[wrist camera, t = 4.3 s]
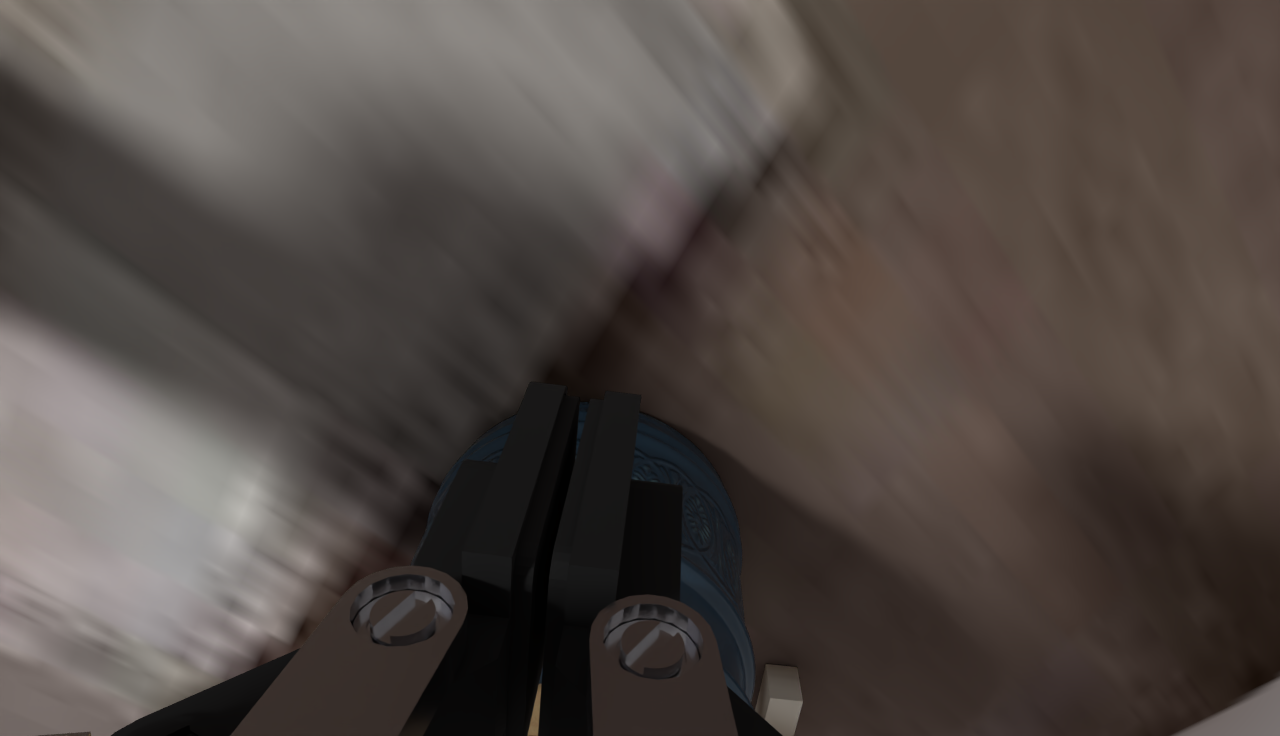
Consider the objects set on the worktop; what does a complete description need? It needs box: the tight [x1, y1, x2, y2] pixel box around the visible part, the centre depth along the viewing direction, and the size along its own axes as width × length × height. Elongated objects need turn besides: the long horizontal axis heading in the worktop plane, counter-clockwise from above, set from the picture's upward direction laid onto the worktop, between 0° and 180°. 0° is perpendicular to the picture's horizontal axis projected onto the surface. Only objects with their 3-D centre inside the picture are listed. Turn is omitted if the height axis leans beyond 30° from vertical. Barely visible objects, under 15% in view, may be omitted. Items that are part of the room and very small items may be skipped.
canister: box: [410, 402, 755, 736], centre depth 27 cm, size 13×13×18 cm
